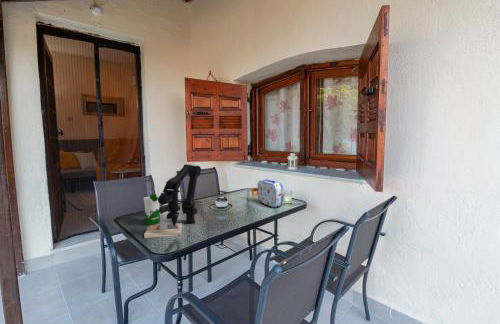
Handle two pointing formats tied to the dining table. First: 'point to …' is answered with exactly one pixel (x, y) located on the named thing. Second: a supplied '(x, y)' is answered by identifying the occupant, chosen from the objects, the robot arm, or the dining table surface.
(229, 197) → the dining table surface
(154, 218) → the milk carton
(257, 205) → the dining table surface
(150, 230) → the key terracotta
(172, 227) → the key charcoal
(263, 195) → the lunch box
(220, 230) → the dining table surface
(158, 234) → the keypad board
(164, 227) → the key grey
